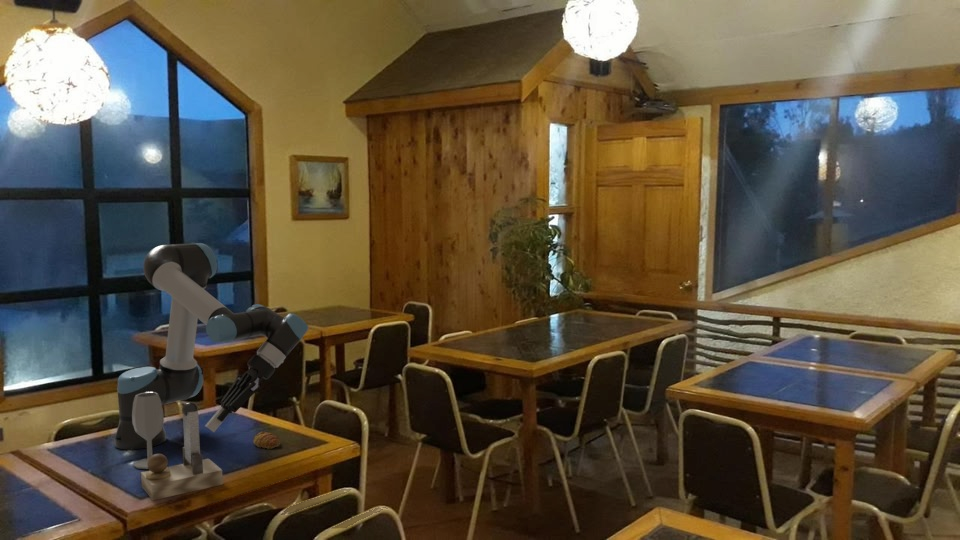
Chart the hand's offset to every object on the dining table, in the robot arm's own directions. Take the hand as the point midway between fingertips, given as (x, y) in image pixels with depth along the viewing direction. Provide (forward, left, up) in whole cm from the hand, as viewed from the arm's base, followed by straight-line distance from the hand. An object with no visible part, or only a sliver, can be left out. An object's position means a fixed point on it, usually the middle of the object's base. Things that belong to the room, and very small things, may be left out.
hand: (209, 429), depth 211 cm
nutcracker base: (-7, -4, -14) cm, 16 cm away
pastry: (+9, +30, -15) cm, 34 cm away
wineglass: (-22, +14, -14) cm, 29 cm away
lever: (-4, -3, -8) cm, 10 cm away
